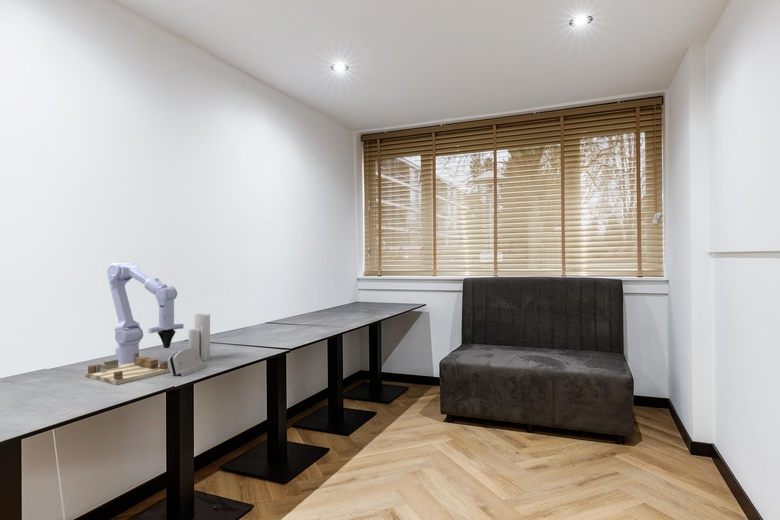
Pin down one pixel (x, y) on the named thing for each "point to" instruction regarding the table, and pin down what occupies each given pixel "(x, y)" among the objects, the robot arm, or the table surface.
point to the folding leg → (146, 362)
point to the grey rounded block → (185, 362)
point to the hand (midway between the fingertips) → (166, 347)
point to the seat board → (123, 371)
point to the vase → (201, 335)
